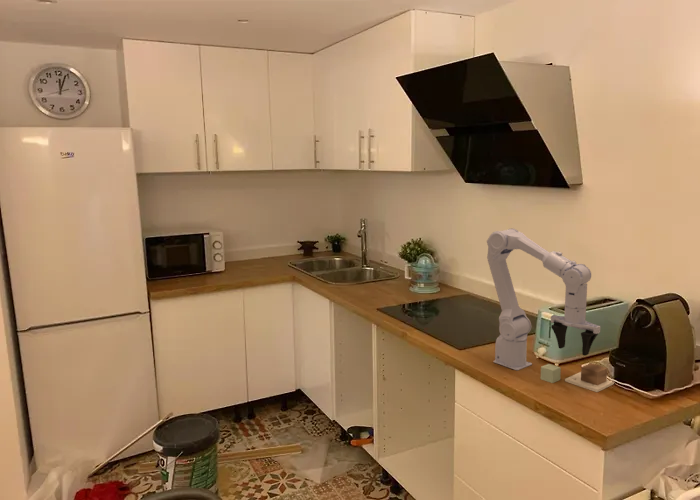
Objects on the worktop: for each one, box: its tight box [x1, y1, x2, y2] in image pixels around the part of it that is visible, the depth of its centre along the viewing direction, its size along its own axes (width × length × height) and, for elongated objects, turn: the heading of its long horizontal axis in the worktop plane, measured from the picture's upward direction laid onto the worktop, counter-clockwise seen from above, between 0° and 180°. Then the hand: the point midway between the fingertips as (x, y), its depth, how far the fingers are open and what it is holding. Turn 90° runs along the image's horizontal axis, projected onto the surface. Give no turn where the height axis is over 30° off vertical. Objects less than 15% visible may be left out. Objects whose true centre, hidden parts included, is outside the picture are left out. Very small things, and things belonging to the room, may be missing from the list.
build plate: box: [564, 371, 615, 393], centre depth 156 cm, size 10×10×1 cm
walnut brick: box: [580, 363, 608, 385], centre depth 155 cm, size 5×5×4 cm
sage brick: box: [540, 363, 562, 384], centre depth 158 cm, size 4×4×4 cm
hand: (573, 351), depth 156 cm, fingers open, 7 cm apart
